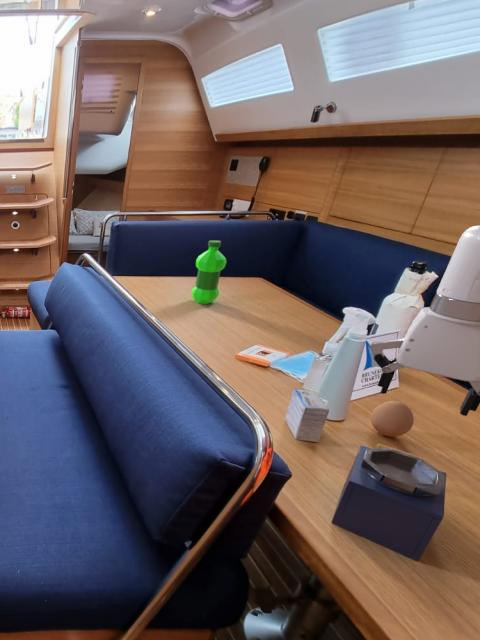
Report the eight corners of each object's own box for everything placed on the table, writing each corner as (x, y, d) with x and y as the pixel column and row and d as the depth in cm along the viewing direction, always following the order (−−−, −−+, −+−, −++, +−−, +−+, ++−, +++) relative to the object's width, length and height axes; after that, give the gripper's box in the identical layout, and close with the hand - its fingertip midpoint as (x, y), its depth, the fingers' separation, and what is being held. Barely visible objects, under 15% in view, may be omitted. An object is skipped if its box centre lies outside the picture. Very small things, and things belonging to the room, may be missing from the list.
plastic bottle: (211, 297, 176) (223, 238, 166) (221, 306, 167) (234, 244, 156) (186, 297, 178) (196, 239, 168) (194, 306, 168) (205, 244, 158)
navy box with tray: (344, 484, 79) (361, 444, 75) (423, 515, 72) (446, 472, 68) (331, 523, 72) (349, 480, 68) (417, 561, 65) (443, 516, 61)
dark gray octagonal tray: (364, 450, 74) (369, 441, 73) (439, 476, 68) (445, 466, 67) (356, 477, 68) (360, 467, 67) (437, 507, 62) (443, 497, 61)
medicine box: (318, 443, 90) (331, 410, 87) (294, 439, 92) (305, 407, 88) (306, 422, 97) (317, 391, 93) (283, 419, 98) (293, 388, 95)
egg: (359, 424, 95) (371, 393, 92) (392, 426, 94) (406, 395, 91) (377, 441, 90) (391, 410, 86) (413, 444, 88) (429, 412, 85)
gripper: (554, 314, 61) (498, 411, 68) (392, 291, 73) (359, 376, 80) (561, 329, 56) (500, 432, 63) (387, 302, 68) (352, 391, 75)
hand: (421, 400), depth 72 cm, fingers open, 9 cm apart
